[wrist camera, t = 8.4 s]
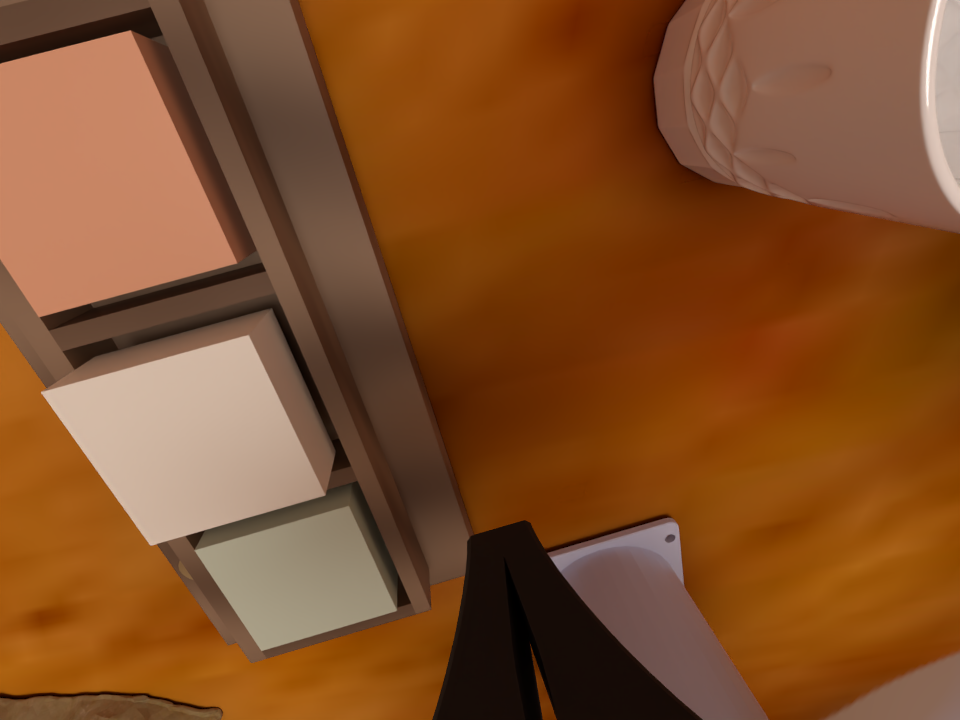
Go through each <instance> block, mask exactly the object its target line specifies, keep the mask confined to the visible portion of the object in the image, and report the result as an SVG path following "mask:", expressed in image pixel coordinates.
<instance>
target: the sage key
mask: <svg viewBox="0 0 960 720" xmlns="http://www.w3.org/2000/svg"><path fill="white" fill-rule="evenodd" d="M194 551H195V552H196V554H197V555H198V557H199V558H200V560H201V561H202V563H203V564H204V566H205V567H206V569H207V570H208V572H209V573H210V575H211V576H212V578H213V579H214V581H215V582H216V584H217V585H218V587H219V588H220V590H221V591H222V593H223V594H224V596H225V597H226V599H227V600H228V602H229V603H230V605H231V606H232V608H233V609H234V611H235V612H236V614H237V615H238V617H239V618H240V620H241V621H242V623H243V624H244V626H245V627H246V629H247V630H248V632H249V633H250V635H251V636H252V638H253V639H254V641H255V642H256V644H257V645H258V647H259V648H260V650H261V651H263V650H267V649H270V648H274V647H277V646H280V645H284V644H287V643H290V642H294V641H297V640H301V639H304V638H307V637H311V636H314V635H317V634H321V633H324V632H328V631H331V630H334V629H338V628H341V627H344V626H348V625H351V624H355V623H358V622H361V621H365V620H368V619H371V618H375V617H378V616H382V615H385V614H388V613H392V612H395V611H397V589H398V572H397V570H396V567H395V565H394V563H393V560H392V558H391V556H390V554H389V551H388V549H387V547H386V544H385V542H384V540H383V537H382V535H381V533H380V531H379V528H378V526H377V524H376V521H375V519H374V517H373V515H372V512H371V510H370V508H369V505H368V503H367V501H366V499H365V496H364V494H363V492H362V489H361V487H360V485H359V482H358V481H356V482H352V483H349V484H345V485H342V486H338V487H335V488H331V489H328V490H327V491H326V495H325V496H322V497H318V498H315V499H311V500H308V501H304V502H301V503H297V504H294V505H290V506H287V507H284V508H280V509H277V510H273V511H270V512H266V513H263V514H259V515H256V516H252V517H249V518H245V519H242V520H238V521H235V522H231V523H228V524H224V525H221V526H218V527H214V528H211V529H207V530H205V532H204V533H203V535H202V537H201V539H200V541H199V543H198V545H197V547H196V549H195V550H194Z"/></svg>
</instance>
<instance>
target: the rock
mask: <svg viewBox="0 0 960 720" xmlns="http://www.w3.org/2000/svg"><path fill="white" fill-rule="evenodd" d="M221 718H222V711H221V709H219V708H218V707H216V708H210V709H196V708H192V707H189V706H184V705H174V704H173V703H172V702H170V701H166V700H161V699H155V698H149V697H148V696H144V695H141V696H128V695H109V694H103V695H81V696H75V697H56V696H37V697H31V698H28V699H18V700H13V699H9V698H6V699H4V698H0V720H221Z"/></svg>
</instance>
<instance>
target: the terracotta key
mask: <svg viewBox="0 0 960 720" xmlns="http://www.w3.org/2000/svg"><path fill="white" fill-rule="evenodd" d="M255 251H257V249H256V247H255V244H254V242H253V240H252V237H251V235H250V233H249V231H248V228H247V226H246V224H245V221H244V219H243V217H242V215H241V212H240V210H239V208H238V205H237V203H236V201H235V198H234V196H233V194H232V192H231V189H230V187H229V185H228V182H227V180H226V178H225V176H224V173H223V171H222V169H221V166H220V164H219V162H218V160H217V157H216V155H215V153H214V150H213V148H212V146H211V143H210V141H209V139H208V137H207V134H206V132H205V130H204V127H203V125H202V123H201V121H200V118H199V116H198V114H197V111H196V109H195V107H194V105H193V102H192V100H191V98H190V95H189V93H188V91H187V89H186V86H185V84H184V82H183V79H182V77H181V75H180V72H179V70H178V68H177V66H176V63H175V61H174V59H173V56H172V54H171V52H170V50H169V47H167V46H165V45H163V44H160V43H158V42H156V41H154V40H151V39H149V38H147V37H145V36H142V35H140V34H138V33H135V32H133V31H131V30H130V31H126V32H122V33H118V34H114V35H110V36H106V37H102V38H99V39H95V40H91V41H87V42H83V43H79V44H75V45H71V46H67V47H63V48H59V49H55V50H52V51H48V52H44V53H40V54H36V55H32V56H28V57H24V58H20V59H16V60H12V61H8V62H4V63H1V64H0V260H1V261H2V263H3V264H4V266H5V267H6V269H7V270H8V272H9V273H10V275H11V276H12V278H13V279H14V281H15V282H16V284H17V285H18V287H19V288H20V290H21V291H22V293H23V294H24V296H25V297H26V299H27V300H28V302H29V303H30V305H31V306H32V308H33V309H34V311H35V312H36V314H37V315H38V317H42V316H45V315H49V314H53V313H56V312H60V311H64V310H67V309H71V308H75V307H78V306H82V305H86V304H89V303H93V302H97V301H100V300H104V299H108V298H112V297H115V296H119V295H123V294H126V293H130V292H134V291H137V290H141V289H145V288H148V287H152V286H156V285H159V284H163V283H167V282H170V281H174V280H178V279H181V278H185V277H189V276H193V275H196V274H200V273H204V272H207V271H211V270H215V269H218V268H222V267H226V266H229V265H233V264H237V263H239V262H240V261H242V260H243V259H245V258H246V257H248V256H249V255H251V254H252V253H254V252H255Z"/></svg>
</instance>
